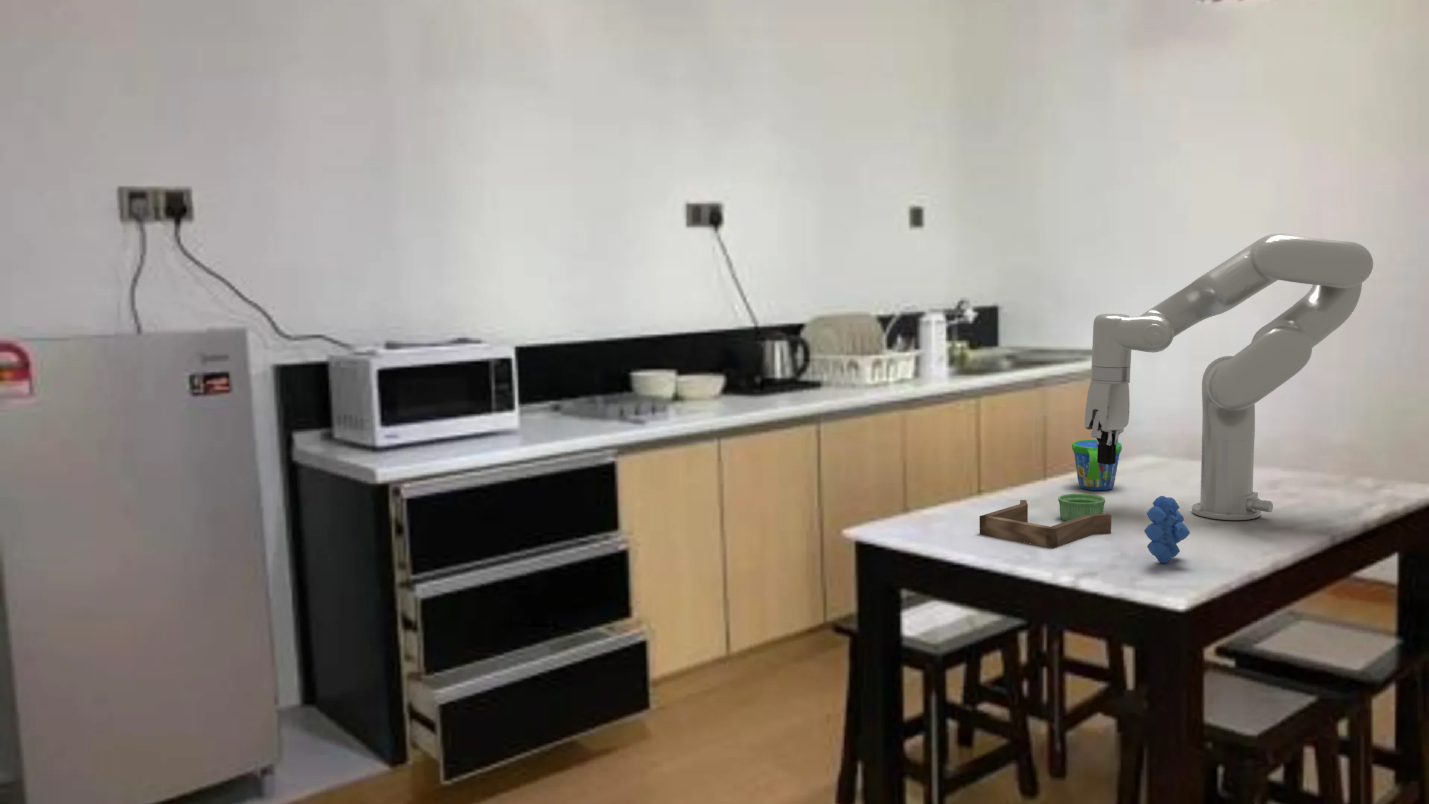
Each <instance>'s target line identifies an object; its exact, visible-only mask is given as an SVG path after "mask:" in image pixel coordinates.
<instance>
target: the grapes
mask: <svg viewBox="0 0 1429 804" xmlns="http://www.w3.org/2000/svg"><path fill="white" fill-rule="evenodd" d="M1152 505H1153V506H1152V507H1150V509H1148V510H1147V512H1146V516H1147V518H1148V519H1149V521H1150V522H1151V523H1150V524H1148V525H1147V526H1146V527H1145V529H1144V533H1145V535H1146V537H1147V538H1148V539H1149V540H1151V541H1150V542H1149V543H1148V544H1147V546H1146V547H1147V549H1148V551H1149V553H1150V554H1151V555H1152V556H1154V557H1155V558H1156V560H1157V561H1158V562H1159V563H1161V564H1166V563H1168V562H1170V560H1171V559H1173V558H1174V557H1176V556H1177V555H1178V554H1179V553H1180V552H1181V549H1180V547H1178V545H1177V544H1179V543H1180V542H1182V541H1184V540H1185V539H1187V537H1188V536H1189V535H1190V534H1191V532H1190V530H1189V528H1188V527H1187V525H1186V524H1185V523H1183V521H1185V518H1184V516H1183V514H1182V513H1181V512H1180V511H1179V509H1180V506H1179V504H1178V502H1177V501H1176V500H1175V499H1174V498H1173V497H1167V496H1165V495H1159V496H1158V497H1156V498H1155V500H1154V501H1153V502H1152Z"/></svg>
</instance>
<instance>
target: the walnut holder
mask: <svg viewBox="0 0 1429 804" xmlns="http://www.w3.org/2000/svg"><path fill="white" fill-rule="evenodd" d="M1019 501H1020V502H1019V504H1015V505H1012V506H1009V507H1006V508H1002V509H999V510H996V511H992V512H989V513H986V514H982V515H979V534H980V535H983V536H984V535H985V536H989V537H995V538H999V539H1004V540H1009V541H1015V542H1021V543H1024V542H1025V544H1029V543H1031V545H1035V546H1039V545H1041V546H1040V547H1044V546H1046V548H1049V547H1050V549H1055V548H1058V547H1060V546H1059V545H1061V546H1063V544H1064V545H1066V544H1070V543H1071V542H1075V541H1078V540H1080V539H1083V538H1086V537H1089V536H1092V535H1096V534H1097V535H1098V533H1099V534H1111V533H1112V514H1111V513H1103V514H1090V515H1084V516H1081V517H1078V518H1075V519H1072V520H1069V521H1064V522H1061V523H1057V524H1054V525H1051V526H1049V525H1043V524H1038V523H1034V522H1033V523H1032V522H1028V521H1029V516H1028V515H1029V514H1028V513H1029V512H1028V511H1029V508H1028V507H1029V505H1028V501H1027V499H1020V500H1019ZM1077 539H1078V540H1077ZM1057 546H1058V547H1057ZM1051 547H1052V548H1051ZM1054 547H1055V548H1054Z"/></svg>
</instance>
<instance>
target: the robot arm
mask: <svg viewBox="0 0 1429 804" xmlns="http://www.w3.org/2000/svg"><path fill="white" fill-rule="evenodd" d="M1373 267H1374V260H1373V256H1372V254H1371V252H1370V250H1368V249H1367V248H1366V247H1365V246H1364V245H1362V244H1361V243H1357V242H1354V241H1346V240H1345V241H1344V240H1334V239H1324V238H1313V237H1307V236H1306V237H1305V236H1304V237H1303V236H1296V235H1292V234H1291V235H1290V234H1285V233H1272V234H1268V235H1265V236H1264V237H1261V238H1259V239H1257V240H1256V241H1254V242H1252V243H1251V244H1250V245H1248V246H1246V247H1245V248H1243V249H1242V250H1240V251H1238V252H1237V253H1236V254H1234V255H1232V256H1231V257H1229V258H1227V259H1226V260H1225V261H1223V262H1221V263H1220V264H1218V265H1217V266H1215V267H1213V268H1212V269H1210V270H1209V271H1207V272H1205V273H1204V274H1202V275H1201V276H1200V277H1197V278H1196V279H1195V280H1194V281H1192V282H1191V283H1189V284H1188V285H1187V286H1185V287H1183V288H1182V289H1180V290H1178V291H1177V292H1175V293H1173V294H1172V295H1170V296H1169V297H1168V298H1166V299H1164V300H1163V301H1161V302H1159V303H1158V304H1157V305H1155V306H1153V307H1151V308H1150V309H1148V310H1147V311H1145V312H1144V313H1142V314H1140V315H1139V316H1130V315H1127V314H1121V313H1102V314H1098V315H1096V317H1094V319H1093V326H1092V328H1093V329H1092V331H1093V332H1092V346H1091V347H1092V350H1091V367H1090V368H1091V369H1090V370H1091V372H1090V373H1091V374H1090V382H1089V386H1088V391H1087V396H1086V403H1085V404H1086V405H1085V414H1084V428H1085V429H1086V430H1088V431H1090V430H1091V433H1090V435H1091V437H1092V438H1095V440H1097V444H1098V455H1097V462H1098V463H1101V464H1107V465H1111V464H1115V461H1116V444H1117V443H1119V435H1121V434H1122V433H1123V432H1124V431H1125V428H1126V427H1128V425H1129V419H1130V404H1131V403H1130V382H1131V366H1132V365H1131V362H1132V350H1133V351H1137V352H1138V351H1139V352H1144V353H1152V354H1153V353H1159V352H1163V351H1164V350H1166V349H1168V348H1169V346H1170V345H1171V344H1172V342H1173V339H1174V338H1175V337H1176V336H1178V335H1180V334H1181V333H1183V332H1184V331H1186V330H1188V329H1189V328H1191V327H1193V326H1195V325H1196V324H1198V323H1200V322H1202V321H1204V320H1206V319H1209V318H1212V317H1215V316H1218V315H1221V314H1223V313H1226V312H1228V311H1230V310H1232V309H1233V308H1236V307H1237V306H1239V305H1240V304H1242V303H1244V301H1246V300H1248V299H1250V298H1251V297H1253V296H1254V295H1256V294H1258V293H1259V292H1261V291H1262V290H1265V289H1266V288H1267V287H1269V286H1271V285H1272V284H1274V283H1276V282H1277V281H1283V282H1289V283H1290V282H1291V283H1296V284H1306V285H1312V286H1311V287H1310V289H1309V291H1308V292H1307V293H1306V294H1305V295H1303V297H1302V298H1300V299H1299V300H1298V301H1296V302H1295V303H1294V304H1293V305H1292V306H1290V307H1289V308H1287V309H1286V310H1285V311H1283V313H1280V315H1278V316H1277V317H1275V318H1274V319H1272V320H1271V321H1270V322H1268V323H1267V324H1265V325H1263V326H1262V327H1261V328H1259V329H1258V330H1257V331H1256V332H1255V334H1254V335H1253V337H1252V339H1251V343H1249V344H1248V345H1246V346H1244V348H1242V349H1241V350H1239V352H1236V354H1234V355H1226V356H1221V357H1218V358H1216V359H1214V360H1213V361H1211V363H1209V364H1208V365H1207V367H1206V368H1205V370H1204V372H1203V375H1202V379H1201V380H1202V381H1201V401H1202V402H1201V403H1202V406H1201V407H1202V420H1201V421H1202V425H1201V427H1202V430H1201V431H1202V433H1201V455H1200V456H1201V460H1200V462H1201V464H1200V465H1201V466H1200V500H1199V502H1197V503H1194V504H1193V505H1191V512H1192V513H1193V514H1194V515H1197V516H1199V517H1202V518H1207V519H1213V520H1220V521H1221V520H1222V521H1247V520H1254V519H1257V518H1259V517H1260V516H1261V515H1262V512H1265V513H1272V512H1273V510H1274V505H1273V502H1272V501H1271V500H1267V499H1265V500H1264V499H1260V498H1259V492H1258V491H1257V492H1256V491H1254V466H1255V465H1254V464H1255V462H1254V460H1255V458H1254V457H1255V438H1256V437H1255V436H1256V435H1255V434H1256V433H1255V432H1256V409H1255V408H1256V404H1257V403H1258V402H1259V401H1261V400H1263V399H1264V398H1266V397H1267V396H1268V395H1270V393H1271V394H1272V392H1274V391H1275V390H1277V388H1279V387H1281V386H1282V385H1284V384H1285V383H1286V382H1287V381H1289V380H1290V379H1291V378H1292V377H1294V376H1296V375H1297V374H1298V373H1299V372H1300V371H1302V370H1303V368H1305V366H1306V365H1307V364H1308V363H1309V361H1310V359H1311V356H1312V353H1313V348H1314V347H1316V346H1318V344H1320V343H1321V342H1322V341H1323V340H1325V339H1326V338H1327V337H1328V336H1330V335H1331V334H1332V333H1333V332H1334V331H1336V330H1337V329H1339V328H1340V327H1341V326H1342V325H1343V324H1344V323H1345V322H1346V321H1347V320H1348V319H1349V318H1350V317H1351V315H1352V314H1353V312H1354V311H1355V309H1356V308H1357V306H1358V302H1359V301H1360V297H1361V294H1362V289H1363V288H1362V287H1363V283H1364V282H1365V281H1366V280H1367V279H1368V278H1369V277H1370V275H1371V274H1372V271H1373ZM1114 444H1115V445H1114Z"/></svg>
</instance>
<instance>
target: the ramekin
mask: <svg viewBox="0 0 1429 804" xmlns="http://www.w3.org/2000/svg"><path fill="white" fill-rule="evenodd" d="M1057 501H1058V503H1059V516H1060V519H1061V520H1062V521H1064V522H1066V521H1069V520H1072V519H1075V518H1078V517H1081V516H1084V515H1090V514H1104V508H1105V503H1106V498H1105V497H1103V496H1101V495H1098V494H1092V493H1091V494H1090V493H1066V494H1062V495H1060V496H1058V497H1057Z"/></svg>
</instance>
